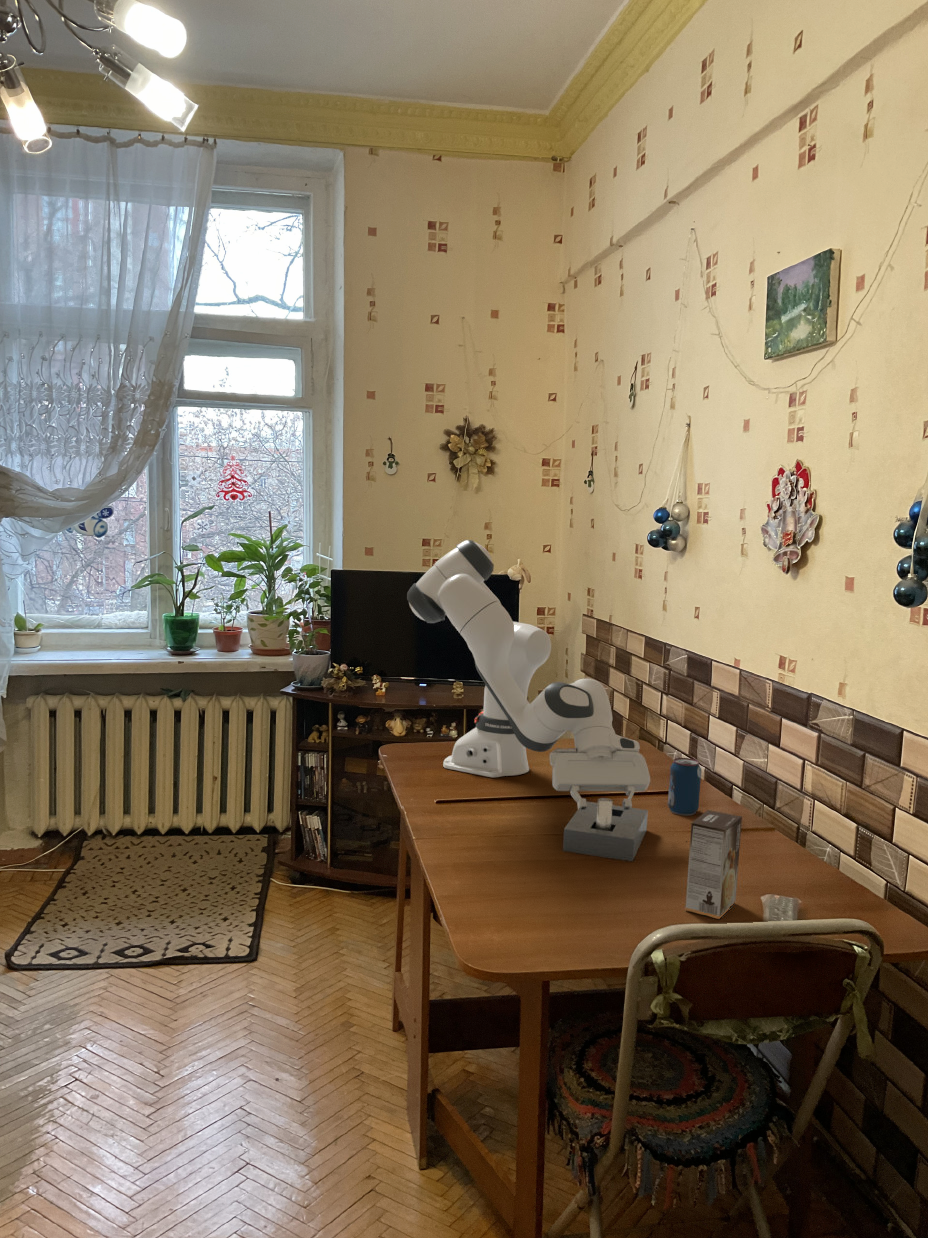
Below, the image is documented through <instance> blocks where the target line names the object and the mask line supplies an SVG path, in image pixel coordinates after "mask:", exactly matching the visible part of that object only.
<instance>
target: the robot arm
mask: <svg viewBox="0 0 928 1238" xmlns="http://www.w3.org/2000/svg"><path fill="white" fill-rule="evenodd" d="M455 546H456V547H454V548H453V549H451V550H449V552H446V554H444V555H443V556H442V557H440V558H439V559H438V560H437V561H435V562H434V564H433V565H432V566H431V567H430V568H428V570H427V571H426V572H425V573H424V574H423V575H422V576H421V577H420V578H419V580H418V581H417V582H416V583H413V584H412V586H410V588H409V589H408V591H407V593H406V600H407V601H408V604H409V608H410V609H411V611H412V613H413V614H414V615H415V616H416V617H417V618H419V619H420V620H422V621H424V622H426V623H427V624H435V623H436V624H437V623H438V622H441V621H445V620H446V618H445V617H446V616H447V618H448V619H449V621H450V623H451V625H452V626H453V627H454V628H455V629H456V631H458V633H459V634H460V636H461V637H462V638H463V639H464V641H465V642H466V645H467V647H468V649H469V651H470V652H471V653H472V657H473V659H474V664H475V665H474V666H475V668H476V671H477V673H478V675H479V677H480V678H481V680H482V681H483V683H484V685H485V686H484V691H483V693H484V694H483V695H484V696H483V710H482V711H481V712H479V713H478V715H477V716H475V718H474V724H475V727H474V728H472V729H471V730H470V731H468V732H467V733H465V734H464V735H463V736H461V737H459V738H458V739H457V740H456V741H455V744H454V745H453V748H452V753H451V755H448V756H447V757H446V758H444V760H443V764H442V765H443V767H444V769H448V770H454V771H458V772H462V773H469V774H473V775H478V776H482V777H488V778H499V777H500V778H501V777H505V776H506V777H508V776H519V775H522V774H526V773H528V772H529V771H530V767H529V762H528V757H527V749H528V750H530V751H533V752H536V753H537V752H538V753H543V752H547V751H550V750H551V749H552V748H553V747H554V746H555V744H556V742H558V741H559V739H560V737H562V736H563V735H564V734H565V733H566V732H570V733H572V735H573V741H574V742H573V743H574V747H573V748H571V747H570V748H562V747H561V748H557V747H556V748H554V749H553V750H552V751H550V753H549V754H548V756H549V757H548V759H549V764H550V766H551V767H552V773H551V775H552V777H551V781H552V788H554V790H555V791H558V792H569V793H570V796H571V797H572V798H573V800H574V801H575V803H577V810H585V809H586V807H587V804H586V801H587V799H586V798H583V797H581V794H580V793H579V792H625V796H627V798H623V800H622V804H621V806H622V807H623V810H631V808H633V804H632V803H633V802H632V798H633V797H634V794H635V792H640V793H641V792H645V791H646V790H647V789H648V788H649V785H650V783H651V776H650V772H649V768H648V764H647V762H646V758H645V757H644V756H643V754H642V753H640V749H641V747H640V743H639V742H638V741H637V740H634V739H630V738H628V737H625V736H621V735H618V734H616V732H615V729H614V728H613V723H612V722H613V713H612V707H611V703H610V698H609V695H608V693H607V690H606V689H605V687H604V685H603V684H602V683H601V682H600V681H598V680H596V679H593V678H580V679H577V680H575V681H574V682H572V683H565V682H563V681H562V682H561V681H556V682H555V681H554V682H552V683H551V682H550V684H548V685H547V686H546V687H545V688H544V689H543V690H542V691H540V692H539V694H538V695H537V696H536V697H535V699H534V700H533V701H532V702H529V701H528V691H529V686H530V683H531V680H532V678H533V676H534V674H535V672H536V671H537V670H538V669H539V668H540V667H541V666H542V665H544V664H545V663H546V661H547V660H549V657H550V655H551V651H552V640H551V638H550V635H549V634H548V633H547V632H546V631H545V630H544V629H541V628H540V627H538V626H535V625H533V624H530V623H524V622H518V621H513V619H512V617H511V616H510V613H509V612H508V611H507V610H506V608H505V607H504V606H503V605H502V603H501V601H500V599H499V598H498V597H497V596H496V595H495V594H494V593H493V592H492V590H490V588H489V587H488V586H487V585H486V583H485V581H487V580H488V579H489V578H490V577H491V576H492V574H493V572H494V569H495V568H494V565H495V564H494V563H493V560H492V557H491V554H490V552H489V551H488V550H487V549H486V548H485V547H484V546H483V545H482V544H480V543H478V542H476V541H474V540H473V539H466V540H462V541H461V542H460V543H458V544H457V545H455Z"/></svg>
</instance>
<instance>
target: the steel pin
mask: <svg viewBox="0 0 928 1238" xmlns="http://www.w3.org/2000/svg"><path fill="white" fill-rule="evenodd" d="M597 803H598V804H597V820H596V829H598V830H605V831H611V820H612V805H614V803H613V799H611V798H607V797H601V798H598V799H597Z"/></svg>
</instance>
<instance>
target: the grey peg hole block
mask: <svg viewBox="0 0 928 1238" xmlns="http://www.w3.org/2000/svg"><path fill="white" fill-rule="evenodd" d="M586 804H587V807H586V809H585V810H578V809H577V810H576V812H575V813H574V814H573V816H572V817H571V818H570V820H569V821H568V823H567V824H566V826H564V829H563V840H562V841H563V843H562V851H563V852H569V853H576V854H581V855H589V856H594V857H600V858H606V859H607V858H608V859H612V858H613V860H619V859H621V860H620V861H625V860H628V861H627V862H631V861H633V862H634V860H635V858H634V857H636V855H637V853H638V851H637V850H639V849H640V846H641V844H642V842H643V839H644V837H645V835H646V832H647V829H648V828H647V827H648V818H649V817H648V816H649V815H648V813H649V810H648V809H642V808H634V807H632V808H631V810H623V805H621V806H620V805H615V804H613V805H612V820H611V831H605V830H598V829H596V820H597V804H598V802H594V801H593V802H592V801H587V800H586ZM641 841H642V842H641ZM638 848H639V849H638ZM633 859H634V860H633Z"/></svg>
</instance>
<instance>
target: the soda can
mask: <svg viewBox="0 0 928 1238" xmlns="http://www.w3.org/2000/svg"><path fill="white" fill-rule="evenodd" d="M670 765H671V766H670V770H669V784H668V797H667V799H668V800H667V806H668V809H669V810H670V812H671V813H673V814H676V815H679V816H694V815H695V814H696V812H697V811H698V809H699V806H700V805H699V804H700V795H701V783H702V782H701V781H702V780H701V777H702V769H701V766H700V762H699V760H697V759H694V758H690V757H689V758H688V757H675V758H674V759H673V762H672V764H670ZM693 814H694V815H693Z"/></svg>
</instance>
